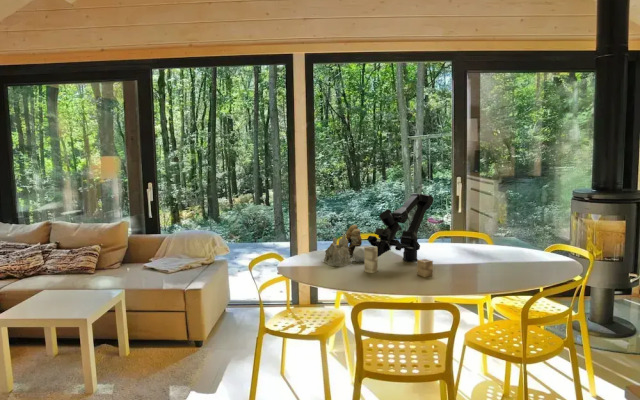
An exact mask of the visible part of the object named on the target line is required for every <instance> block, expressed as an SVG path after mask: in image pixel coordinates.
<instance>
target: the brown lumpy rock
mask: <svg viewBox="0 0 640 400" xmlns="http://www.w3.org/2000/svg"><path fill="white" fill-rule="evenodd" d="M345 235H346V239H348V248H349V249H348V251H349V253H350V257H353V252H354V249H355V247H362V244H363V240H362V235H361V230H360V229H359V228H358V225H357V224H352V225H350V226H349V228H348V229H347V230H346V232H345Z"/></svg>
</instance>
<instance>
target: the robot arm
mask: <svg viewBox="0 0 640 400" xmlns="http://www.w3.org/2000/svg"><path fill="white" fill-rule="evenodd" d="M433 203H434V197H433V196H432V194H423V193H419V192H418V193H415V192H414V193H411V196H410V197H409V198H408V200H406V202H404V204H403V205H402V206H401V207H399V208H396V209H395V210H394V211H393V212H392V211H391V209H386V210H384V211H382V212H381V213H380V214H379V219H380V220H381V222H382V223H383V224H384V226H386V228H380V227H376V228H375V231H374V235H377V236H374V235H368V237H367V241H368V242H369V244H370V246H372V247H378V258H379V257H380V256H382V255H384V254H385V253H387V252H389V251H391V250H392V247H395V251H398V252H399V251H400V252H401V250H403V252H402V253H403V256H402V260H404V261H406V262H409V263H410V262H417V260H419V259H418V251H419V250H420V248H421V245H420V243H419V242H418V231H419V228H420V227H421V224H422V221H423V219H424V216H425V213H426V211H428V210H429V209H430V208H431V207H432V205H433ZM414 207H416V210H415V212H414V214H413V217H412V219H411V223H409V226H408V229H407V230H403V231H402V227H401V224H404V223H406V222H407V221H408V218H409V214H410V213H411V211H412V210H413V209H414ZM398 231H402V234H401V236H400V240H399V239H396V238H397V237H396V235H397V233H398ZM377 237H378V238H377Z"/></svg>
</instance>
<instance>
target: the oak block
mask: <svg viewBox="0 0 640 400" xmlns="http://www.w3.org/2000/svg"><path fill="white" fill-rule="evenodd" d="M416 263H417V264H416V270H417V271H416V275H417V276H420V277H424V278H426V277H431V276H433V274H434V273H433V270H434V269H433V268H434V267H433V265H434V263H433V260H431V259H427V258H424V259H423V258H422V259H418V260H417V261H416Z"/></svg>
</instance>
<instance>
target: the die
mask: <svg viewBox="0 0 640 400" xmlns="http://www.w3.org/2000/svg"><path fill="white" fill-rule="evenodd" d="M365 247H366V246H360V247H355V249H354V252H353V256H352V257H353V259H354V261H355V263H365Z"/></svg>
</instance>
